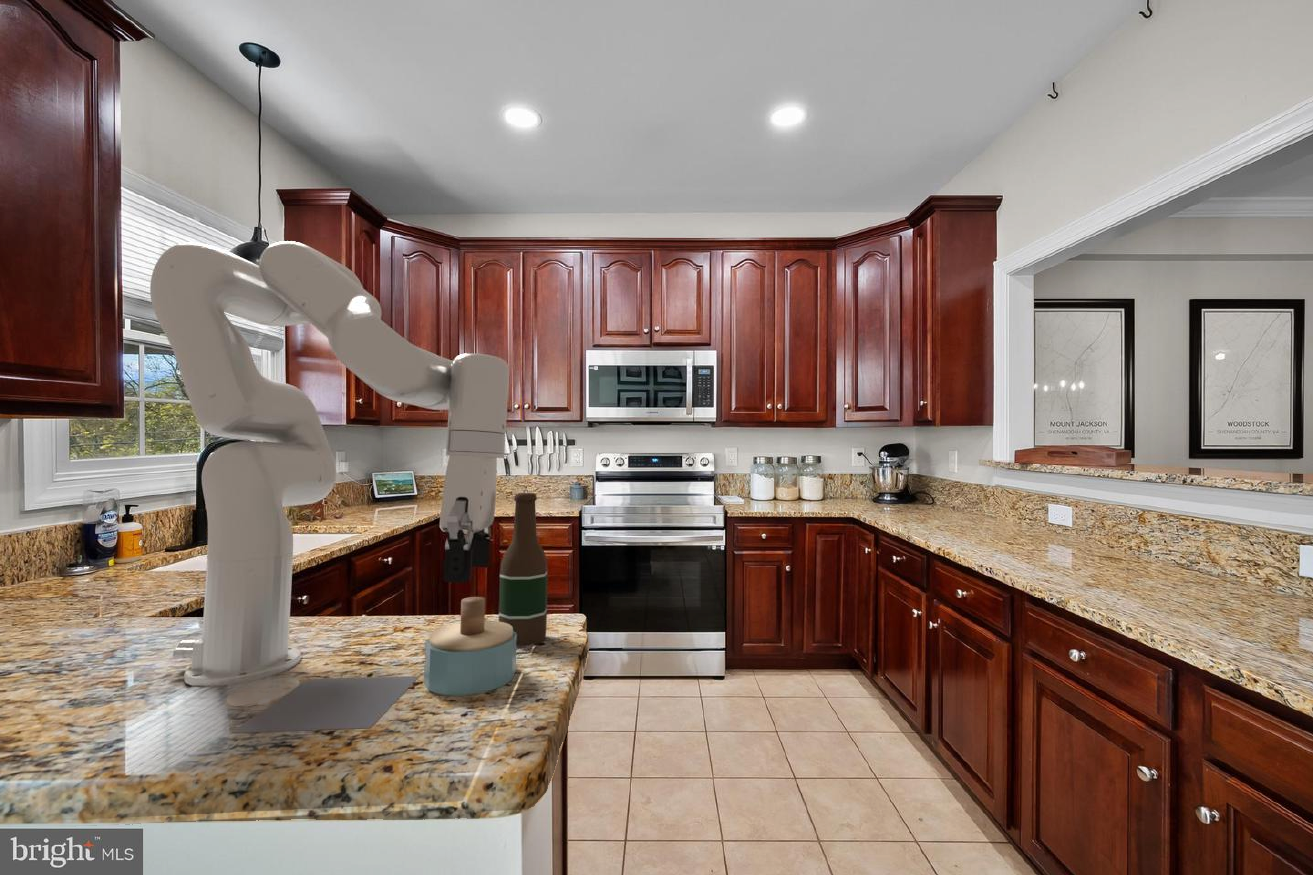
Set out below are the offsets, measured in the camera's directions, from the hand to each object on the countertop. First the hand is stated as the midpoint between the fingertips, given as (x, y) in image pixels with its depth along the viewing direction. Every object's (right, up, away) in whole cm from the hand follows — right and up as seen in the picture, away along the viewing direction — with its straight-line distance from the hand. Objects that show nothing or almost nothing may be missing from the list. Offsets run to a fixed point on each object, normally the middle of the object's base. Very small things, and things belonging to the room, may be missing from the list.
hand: (467, 573), depth 70 cm
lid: (+1, -8, -1) cm, 8 cm away
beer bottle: (+3, -15, +15) cm, 22 cm away
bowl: (+1, -14, -1) cm, 14 cm away
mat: (-13, -13, -8) cm, 20 cm away
